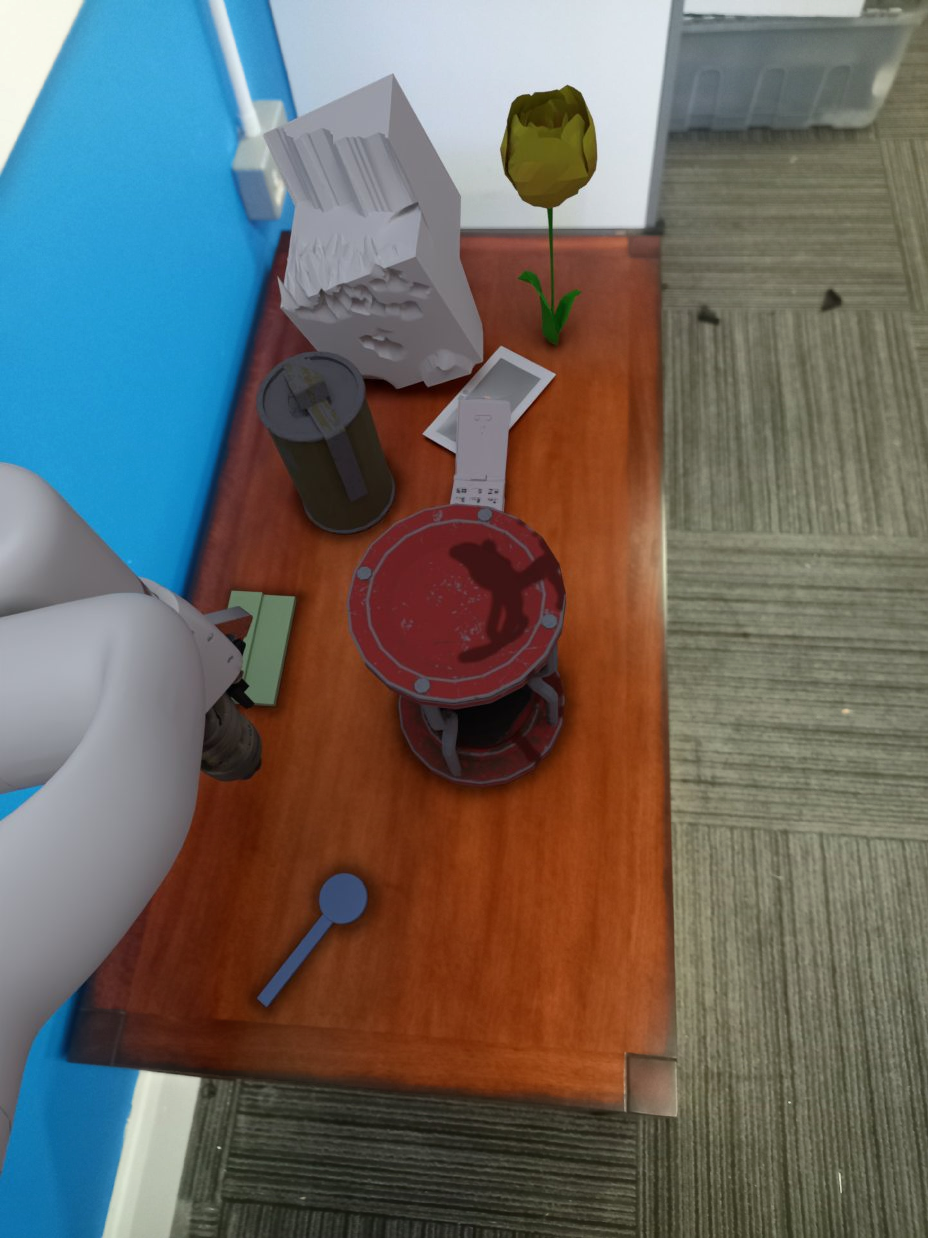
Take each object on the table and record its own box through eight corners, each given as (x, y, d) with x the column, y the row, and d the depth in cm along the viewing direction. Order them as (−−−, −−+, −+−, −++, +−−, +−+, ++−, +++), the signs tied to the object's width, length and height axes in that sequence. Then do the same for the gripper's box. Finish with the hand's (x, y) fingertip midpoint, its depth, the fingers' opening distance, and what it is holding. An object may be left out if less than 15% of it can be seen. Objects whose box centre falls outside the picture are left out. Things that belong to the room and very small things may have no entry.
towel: (275, 706, 90) (271, 702, 88) (209, 702, 90) (204, 697, 89) (297, 599, 94) (293, 593, 93) (233, 596, 95) (229, 590, 94)
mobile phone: (512, 397, 95) (487, 607, 85) (515, 431, 101) (492, 632, 90) (456, 396, 96) (425, 604, 86) (462, 429, 101) (434, 629, 91)
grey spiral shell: (219, 735, 76) (145, 673, 63) (281, 727, 76) (221, 662, 63) (218, 800, 74) (141, 749, 61) (283, 792, 74) (220, 739, 60)
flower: (575, 306, 107) (580, 62, 80) (597, 356, 104) (610, 119, 77) (506, 326, 107) (488, 88, 80) (526, 376, 104) (514, 146, 76)
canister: (288, 482, 101) (229, 363, 83) (369, 440, 102) (328, 314, 84) (329, 553, 96) (276, 444, 78) (413, 508, 98) (380, 391, 80)
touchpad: (556, 380, 103) (556, 368, 101) (478, 471, 99) (476, 460, 97) (501, 351, 105) (500, 339, 103) (423, 439, 101) (420, 428, 99)
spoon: (281, 1019, 77) (278, 1019, 77) (245, 986, 79) (242, 986, 78) (378, 894, 81) (376, 893, 80) (342, 864, 82) (340, 863, 82)
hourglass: (537, 809, 83) (529, 729, 60) (377, 760, 86) (312, 666, 64) (583, 655, 89) (591, 528, 66) (432, 614, 92) (390, 481, 69)
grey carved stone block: (494, 387, 100) (383, 219, 80) (372, 423, 106) (239, 276, 86) (494, 254, 109) (394, 72, 88) (381, 295, 115) (262, 133, 94)
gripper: (22, 792, 46) (162, 853, 63) (246, 554, 51) (322, 668, 68) (-63, 711, 49) (93, 790, 65) (158, 491, 54) (252, 616, 70)
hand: (208, 727), depth 66 cm, fingers closed on grey spiral shell, 5 cm apart
